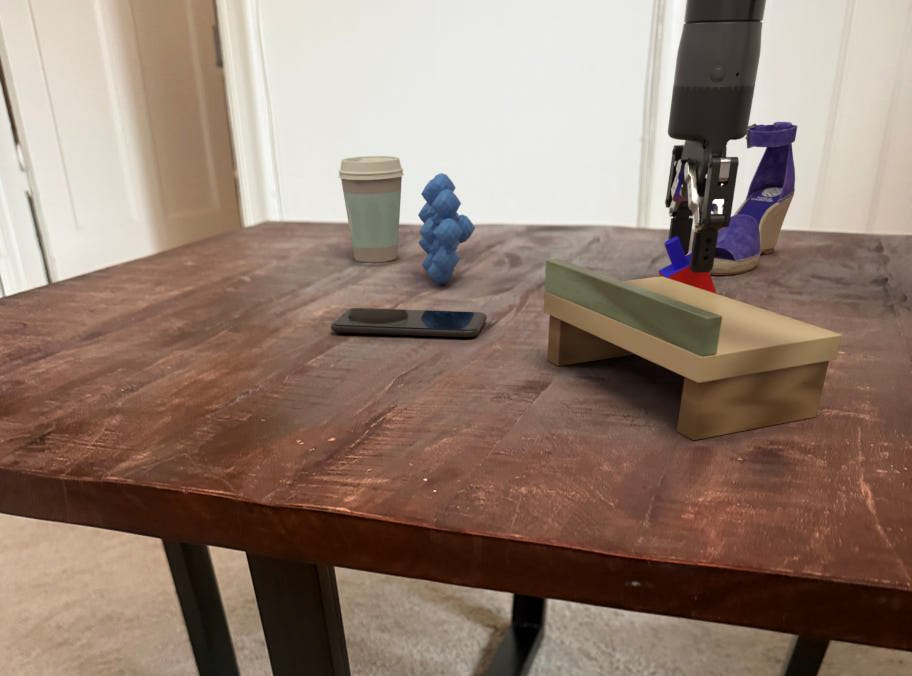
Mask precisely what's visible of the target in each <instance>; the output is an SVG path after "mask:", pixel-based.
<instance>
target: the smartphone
mask: <svg viewBox="0 0 912 676" xmlns="http://www.w3.org/2000/svg"><path fill="white" fill-rule="evenodd" d="M487 319H488V318H487V314H486V313H485V312H482V311H481V312H480V311H462V310H461V311H459V310H457V311H456V310H428V309H399V308H370V307H350V308H348V309H346V310H345V311H344V312H342V314H341V315H339V316H338V317H337V318H336V319H334V321H333V322H332V323H331V324H330V329H331V331H332V332H335V333H345V334H346V333H347V334H367V335H369V334H371V335H395V336H396V335H398V336H418V337H419V336H421V337H422V336H423V337H444V338H445V337H446V338H449V337H450V338H473V337H476V336H477V335H478V334H479V333H480V332H481V330H482V328H483V326H484V324H485V323H486V321H487Z"/></svg>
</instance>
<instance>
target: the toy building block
mask: <svg viewBox="0 0 912 676" xmlns="http://www.w3.org/2000/svg"><path fill="white" fill-rule="evenodd" d="M668 239H669V238H668ZM668 239H667V240H666V241H665V242H664V247H665V251H666V253H667V256H668V258H669V260H670V264H668V265H667V266H665V267H663V268H661V269H659V270H658V275H659V277H660V276H662V277H665V278H668V279H672V280H675V281H678V282H681V283H684V284H687V285H690V286H693V287H696V288H699V289H703V290H706V291H709V292H712V293H715V294H718V293H717V290H716V287H715V285H714V281H713V279H712V275H710V273H709V272H703V273H694V272H692V271H691V270H690V268H689V265H690V258H691V252H690V253H688V254H687V255H686V256H685V253H684V251H683V248H682V245H681V242H680V239H679V237H678V236H676V237H673V238H671V239H669V240H668Z"/></svg>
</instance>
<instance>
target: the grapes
mask: <svg viewBox="0 0 912 676" xmlns="http://www.w3.org/2000/svg"><path fill="white" fill-rule="evenodd" d="M455 190H456V186H455V184H454V182H453V181H452V179H451V178H450V177H449V176H448V174H445V173H443V172H441V173H438V174H436V175H435V176H434V177H433V178H432V179H430V180H429V181H428V182H427V184H426V185H425V186H424V187H423V190H422V192H421V193H420V194H421V196H422V198H423V200H424V201H425V203H424V205H423V206H422V208H421V209H420V211H419V212H418V215H417V216H418V218H419V219H420V221H421V222H422V223H423V225H422V226H421V228H420V230H419V231H418V232H419V234H420V235H421V237H420V239H419V241H418V245H419V246H420V248H421V249H422V250H423V251H424V252H425V254H427V255H426V257H425V258H424V260H423V262H422V264H421V266H422V267H423V269H424V270H425V271H426V272H427V274H428V275H429V277H430V278H431V279H432V281H434V282H435V283H436V284H438V285H443V284H447V282H448V281H449V280H450V278H451V277H452V275H453V273H454V272H455V268H456V267H457V265H458V263H459V262H460V260H461V257H460V255H459V254H458V253H457V250H458V247H459V245H460V244H463V243H465V242H467V241H468V240H469V239H470V238H471V237H472V234H473V233H474V232H475V230H476V227H475V225H474V224H473V222H472V220H471V219H470V218H469V217H468V216H467V215H465V214H459V213H458V210H459V208H460V206H461V205H462V202H461V201H460V199H459V197H458V196H457V194H456V193H455Z"/></svg>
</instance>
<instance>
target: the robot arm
mask: <svg viewBox="0 0 912 676" xmlns="http://www.w3.org/2000/svg"><path fill="white" fill-rule="evenodd" d="M766 3H767V0H686V3H685V10H684V19H683V20H684V21H683V22H684V23H683V26H682V31H681V35H680V39H679V44H678V47H677V48H678V49H677V53H676V54H677V55H676V58H675V59H676V61H675V68H674V77H673V84H672V85H673V86H672V93H671V100H670V101H671V102H670V108H669V109H670V110H669V116H668V117H669V118H668V127H667V135H668V137H669V138H671V139H673V140H678V141H684V144H675V145H673V147H672V151H671V161H670V168H669V176H668V183H667V189H666V195H665V197H666V198H665V200H664V201H665V202H664V204H665V208H667V209H668V215H669V217H671V218H670V222H669V231H668V239H667V240H669V239H671V238H673V237H676V236H678V237H679V239H680V242H681V245H682V248H683V251H684V253H685V256H687V255H689V251H690V246H691V252H690V253H691V258H690V265H689V268H690V270H691V271H692V272H694V273H703V272H710V271H711V270H712V268H713V263H714V257H715V251H716V244H717V238H718V232H720V231H721V230H722V228H724V227H728V226H729V224H730V220H731V219H730V218H731V217H732V211H733V203H734V198H735V191H736V183H737V176H738V169H739V164H740V161H739V156H727V149H728V147H727V145H728V143H729V142H730V141H738V140H741V139H743V138H745V137H746V134H747V130H749V129H748V126H749V125H750V124H749V123H750V118H751V117H750V116H751V112H752V105H753V100H754V94H755V87H756V82H757V75H758V70H759V64H760V58H761V57H760V56H761V48H762V33H763V32H762V31H763V22H762V21H763V20H764V16H765V9H766ZM693 223H694V231H692V230H693ZM692 232H693V236H692ZM692 237H693V238H692ZM691 238H692V245H691V244H690V243H691Z"/></svg>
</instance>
